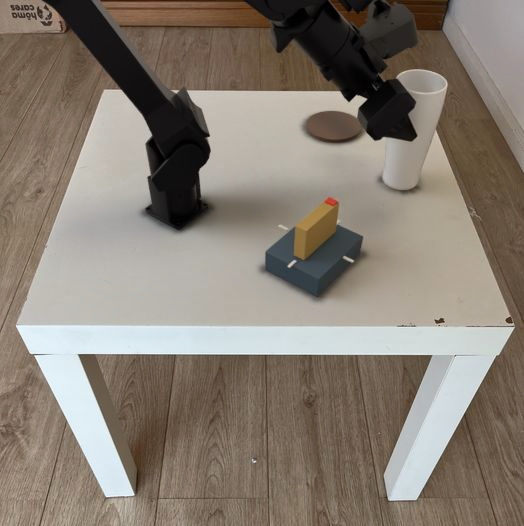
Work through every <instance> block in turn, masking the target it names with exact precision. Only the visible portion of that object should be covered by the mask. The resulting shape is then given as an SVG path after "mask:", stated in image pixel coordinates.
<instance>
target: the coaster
mask: <svg viewBox="0 0 524 526" xmlns="http://www.w3.org/2000/svg"><path fill="white" fill-rule="evenodd" d="M305 129H306V131H307V133H308V134H309V135H310V136H311V137H312V138H314V139H315V140H318V141H322V142H326V143H331V144H333V143H334V144H336V143H345V142H346V143H347V142H350V141H352V140H354V139H356V138H358V136H359V135H360V134H361V131H362V125H361V123H360V122H359V120H358V119H357V117H356V116H355V115H352V114H350V113H346V112H344V111H338V110H325V111H319V112H316V113H314V114H312V115H310V116H309V117H308V118H307V120H306V123H305Z"/></svg>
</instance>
